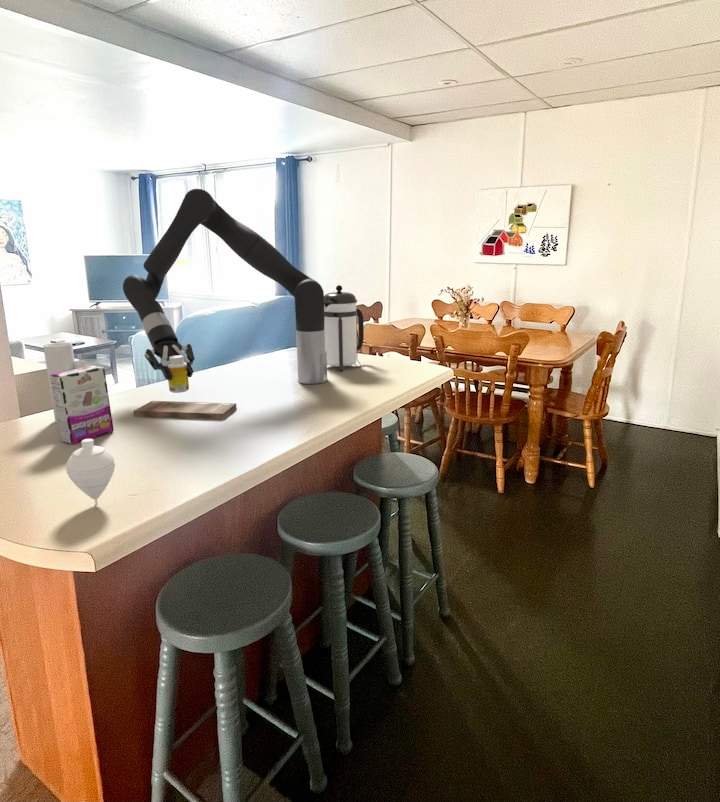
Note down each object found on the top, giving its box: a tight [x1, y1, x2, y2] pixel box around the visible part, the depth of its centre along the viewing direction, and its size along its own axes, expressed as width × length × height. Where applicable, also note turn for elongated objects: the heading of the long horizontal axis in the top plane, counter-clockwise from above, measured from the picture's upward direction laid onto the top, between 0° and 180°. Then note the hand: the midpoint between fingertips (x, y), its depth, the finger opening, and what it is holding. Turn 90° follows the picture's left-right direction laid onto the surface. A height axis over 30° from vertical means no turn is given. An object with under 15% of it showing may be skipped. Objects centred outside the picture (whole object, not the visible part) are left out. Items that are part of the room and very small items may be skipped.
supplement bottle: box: [166, 355, 190, 394], centre depth 165 cm, size 6×6×10 cm
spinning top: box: [65, 438, 116, 505], centre depth 99 cm, size 8×8×12 cm
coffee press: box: [324, 284, 365, 372], centre depth 208 cm, size 17×16×30 cm
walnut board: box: [133, 400, 238, 420], centre depth 155 cm, size 25×10×2 cm, turn 82°
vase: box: [42, 342, 87, 424], centre depth 147 cm, size 11×7×20 cm, turn 66°
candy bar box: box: [49, 364, 115, 445], centre depth 134 cm, size 11×5×16 cm, turn 148°
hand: (180, 377), depth 163 cm, fingers closed on supplement bottle, 5 cm apart
